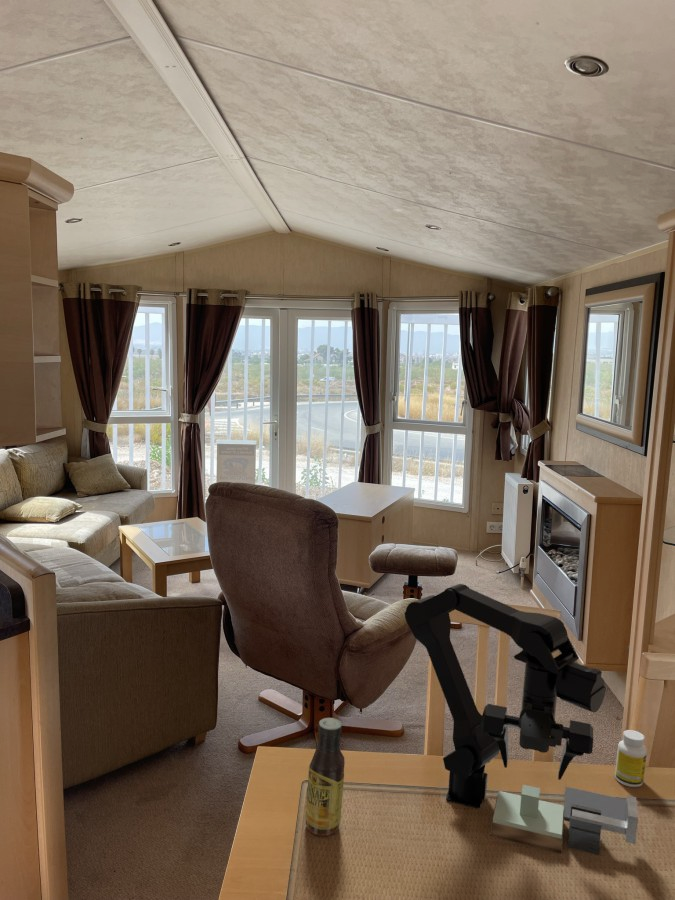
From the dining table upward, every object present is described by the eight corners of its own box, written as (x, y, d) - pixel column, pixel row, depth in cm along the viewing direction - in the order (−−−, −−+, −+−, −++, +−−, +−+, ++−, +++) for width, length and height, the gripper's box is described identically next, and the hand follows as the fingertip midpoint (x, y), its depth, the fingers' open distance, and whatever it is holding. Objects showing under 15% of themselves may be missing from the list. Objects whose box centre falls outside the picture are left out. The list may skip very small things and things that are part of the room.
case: (490, 835, 129) (491, 822, 129) (496, 806, 138) (497, 793, 137) (561, 853, 126) (562, 840, 125) (563, 821, 134) (564, 809, 134)
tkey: (571, 828, 126) (573, 803, 125) (572, 808, 132) (574, 783, 131) (635, 844, 123) (638, 817, 122) (633, 822, 128) (636, 797, 128)
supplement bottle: (645, 790, 145) (651, 743, 143) (616, 785, 146) (621, 739, 145) (640, 774, 150) (645, 729, 149) (612, 770, 151) (617, 726, 150)
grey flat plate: (563, 818, 135) (563, 816, 135) (565, 788, 144) (565, 786, 144) (633, 835, 131) (633, 832, 131) (630, 802, 141) (631, 800, 141)
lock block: (567, 847, 127) (570, 819, 126) (568, 829, 132) (571, 802, 131) (598, 855, 126) (601, 826, 125) (598, 836, 130) (601, 809, 130)
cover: (492, 822, 129) (494, 797, 128) (498, 794, 137) (500, 770, 137) (561, 839, 125) (563, 813, 125) (563, 809, 134) (565, 785, 133)
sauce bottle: (297, 826, 130) (301, 721, 127) (322, 811, 134) (326, 709, 131) (324, 844, 125) (329, 735, 122) (349, 828, 130) (354, 722, 127)
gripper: (479, 699, 123) (472, 785, 126) (597, 723, 117) (587, 812, 120) (488, 672, 134) (481, 751, 136) (596, 692, 128) (587, 775, 130)
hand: (532, 772), depth 130 cm, fingers open, 9 cm apart
